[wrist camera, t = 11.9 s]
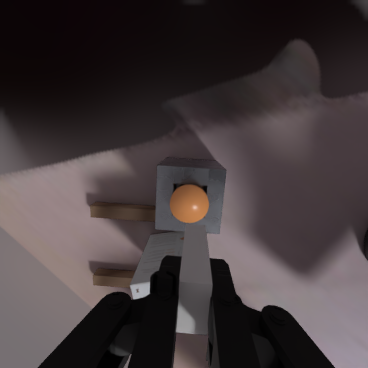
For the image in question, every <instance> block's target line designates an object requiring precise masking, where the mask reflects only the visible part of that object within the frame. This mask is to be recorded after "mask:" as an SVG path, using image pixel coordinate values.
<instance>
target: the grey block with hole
mask: <svg viewBox="0 0 368 368" xmlns="http://www.w3.org/2000/svg"><path fill="white" fill-rule="evenodd" d="M225 179H226V169H225V168H224V167H223V166H222V165H221V164H220V163H218V162H217V161H216V160H201V159H186V158H170V157H167V158H166V159H164V160H163V161H162V162H161V163H159V164H158V165H157V186H156V215H155V229H158V230H172V231H185V226H186V224H195V225H206V233H213V234H220V225H221V216H222V207H223V197H224V188H225ZM181 184H193V185H199V186H200V188H202V189H203V190H204V191H205V193H206V195H207V197H208V201H209V208H208V211H207V213H206V215H205V216H204V217H203V218H202V219H201V220H199V221H197V222H194V223H185V222H182V221H180V220H178V219H177V218H176V217H175V216H174V215H173V214H172V212H171V209H170V199H171V196H172V194H173V192H174V191H175V190H176V189H177V188H178V187H180V185H181Z"/></svg>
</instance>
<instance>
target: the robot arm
mask: <svg viewBox="0 0 368 368" xmlns="http://www.w3.org/2000/svg"><path fill="white" fill-rule="evenodd" d="M364 248H365V254H366V257H367V259H368V230H367V233H366V236H365V242H364ZM176 332H179V333H189V334H199V335H207V333H208V336H209V337H208V346H207V356H206V361H208V365H209V368H335V367H334V366H333V365H332V363H331V362H330V361H329V360H328V359H327V357H326V356H325V355H324V354H323V353H322V351H321V350H320V349H319V348H318V347H317V345H316V344H315V343H314V342H313V340H312V339H311V338H310V337H309V336H308V334H307V333H306V332H305V331H304V330H303V328H302V327H301V326H300V325H299V323H298V322H297V321H296V320H295V319H294V317H293V316H292V315H291V314H290V313H289V312H288V311H286V310H284V309H283V308H281V307H278V306H274V305H268V306H265V307H264V308H263V309H262V311H261V312H260V311H257V310H255V309H252V308H249V307H247V306H246V305H244V304H243V303H242V300H241V299H240V297H239V296H238V295H237V294H236V292H235V288H234V284H233V281H232V277H231V273H230V269H229V266H228V264H227V263H226V262H225V261H224V259H212V258H209V250H208V242H207V233H206V225H195V224H186V226H185V234H184V243H183V251H182V256H171V255H166V256H165V257H164V258H163V259H162V261H161V264H160V268H159V271H156V272H154V273H153V274H152V275H151V277H150V294H148V295H147V296H145V297H143V298H139V299H133V300H131V297H130V296H129V295H128V294H126V293H124V292H113V293H110V294H108V295H106V296H105V297H104V298H102V299H101V300H100V302H99V303H98V304H97V305H96V306H95V307H94V308H93V309H92V310H91V311H90V312H89V313H88V314H87V315H86V316H85V318H84V319H83V320H82V321H81V322H80V323H79V324H78V325H77V326H76V327H75V328H74V329H73V330H72V331H71V333H70V334H69V335H68V336H67V337H66V338H65V339H64V340H63V341H62V342H61V343H60V344H59V345H58V346H57V348H56V349H55V350H54V351H53V352H52V353H51V354H50V355H49V356H48V357H47V358H46V359H45V360H44V362H43V363H42V364H41V365H40V366H39V367H38V368H123V367H124V366H125V364H126V362H127V360H128V358H129V356H130V354H132V355H131V358H130V362H129V365H128V368H173V363H174V353H175V341H176Z"/></svg>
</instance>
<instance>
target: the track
mask: <svg viewBox="0 0 368 368" xmlns="http://www.w3.org/2000/svg"><path fill="white" fill-rule="evenodd" d="M90 210H91V217H96V218H110V219H124V220H137V221H151V222H155V215H156V206H146V205H132V204H118V203H104V202H95V203H94V204H92V205H91V206H90ZM134 274H135V271H126V270H113V269H100V268H98V269H97V271H96V272H95V273H94V275H93V285H99V286H111V287H124V288H130V283H131V281H132V278H133V276H134Z"/></svg>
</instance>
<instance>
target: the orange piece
mask: <svg viewBox="0 0 368 368" xmlns="http://www.w3.org/2000/svg"><path fill="white" fill-rule="evenodd" d="M208 208H209V201H208V197H207V195H206V193H205V191H204V190H203V189H202V188H200V186H199V185H193V184H181V185H180V187H178V188H177V189H176V190H175V191H174V192H173V194H172V196H171V199H170V209H171V212H172V214H173V215H174V216H175V217H176V218H177V219H178V220H180V221H182V222H185V223H194V222H197V221H199V220H201V219H202V218H203V217H204V216H205V215H206V213H207V211H208Z"/></svg>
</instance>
